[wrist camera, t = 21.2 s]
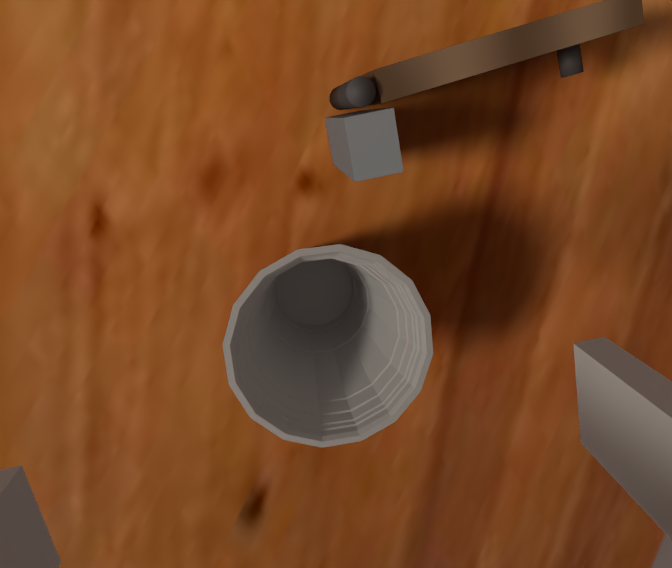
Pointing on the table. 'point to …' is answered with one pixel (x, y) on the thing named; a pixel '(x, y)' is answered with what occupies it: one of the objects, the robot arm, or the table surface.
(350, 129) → the grey upright posts
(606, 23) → the door
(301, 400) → the plastic cup
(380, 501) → the table surface
